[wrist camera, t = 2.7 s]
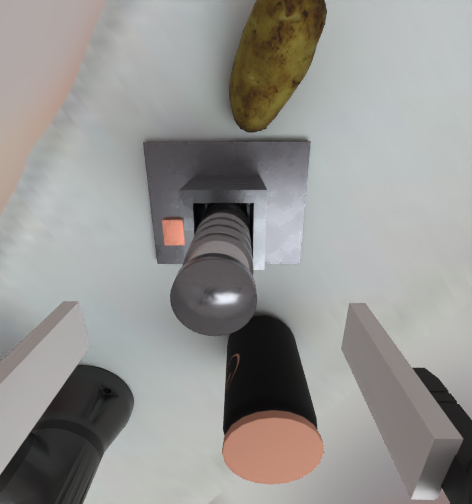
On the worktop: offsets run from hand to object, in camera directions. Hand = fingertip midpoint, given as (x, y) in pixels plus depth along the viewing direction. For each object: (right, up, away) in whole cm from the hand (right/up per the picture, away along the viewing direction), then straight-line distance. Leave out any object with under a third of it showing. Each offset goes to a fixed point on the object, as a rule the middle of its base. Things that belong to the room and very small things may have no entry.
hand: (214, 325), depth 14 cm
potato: (+4, +24, +18) cm, 31 cm away
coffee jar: (+5, -10, +33) cm, 35 cm away
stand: (0, +10, +24) cm, 26 cm away
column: (0, +9, +23) cm, 25 cm away
